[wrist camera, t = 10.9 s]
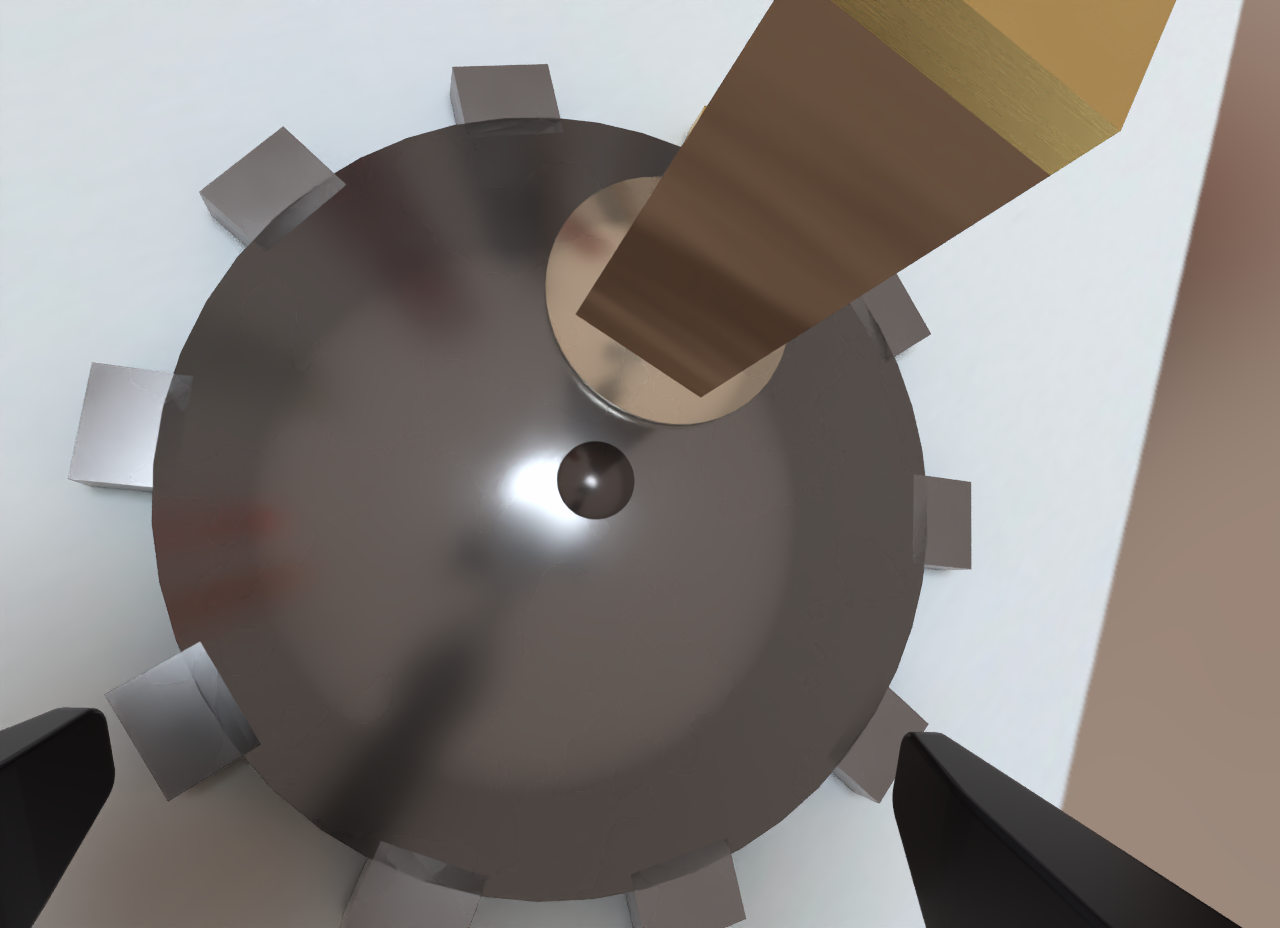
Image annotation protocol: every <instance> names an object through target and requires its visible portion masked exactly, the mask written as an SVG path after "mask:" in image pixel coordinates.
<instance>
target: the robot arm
mask: <svg viewBox="0 0 1280 928" xmlns="http://www.w3.org/2000/svg"><path fill="white" fill-rule="evenodd" d="M114 778H115V768H114V762H113V756H112V750H111V744H110V738H109V732H108V726H107V721H106V717H105V716H104V714H103V713H102V712H101V711H100V710H98V709H95V708H69V707H63V708H57V709H54V710H52V711H49V712H47V713H44V714H42V715H39V716H37V717H34V718H32V719H29V720H27V721H24V722H22V723H19V724H17V725H14V726H12V727H9V728H7V729H4V730H2V731H0V928H31V927H32V926H33V924H34V922H35V921H36V919H37V918H38V916H39V914H40V913H41V911H42V910H43V908H44V906H45V905H46V903H47V901H48V900H49V898H50V896H51V894H52V893H53V891H54V889H55V888H56V886H57V884H58V882H59V881H60V879H61V877H62V876H63V874H64V872H65V870H66V869H67V867H68V865H69V864H70V862H71V860H72V858H73V857H74V855H75V853H76V852H77V850H78V848H79V846H80V845H81V843H82V841H83V840H84V838H85V836H86V835H87V833H88V831H89V829H90V828H91V826H92V824H93V823H94V821H95V819H96V817H97V816H98V814H99V812H100V811H101V809H102V807H103V805H104V804H105V802H106V800H107V799H108V797H109V795H110V793H111V790H112V787H113V784H114ZM893 809H894V815H895V819H896V822H897V826H898V829H899V833H900V837H901V840H902V844H903V847H904V851H905V854H906V858H907V862H908V865H909V869H910V872H911V876H912V880H913V883H914V887H915V890H916V894H917V897H918V901H919V905H920V908H921V912H922V915H923V919H924V923H925V926H926V928H1242V927H1240V926H1239V925H1237V924H1236V923H1234V922H1233V921H1231V920H1230V919H1228V918H1226V917H1225V916H1223V915H1222V914H1220V913H1219V912H1217V911H1216V910H1214V909H1213V908H1211V907H1210V906H1208V905H1207V904H1205V903H1203V902H1202V901H1200V900H1199V899H1197V898H1196V897H1194V896H1193V895H1191V894H1189V893H1188V892H1186V891H1185V890H1183V889H1182V888H1180V887H1179V886H1177V885H1176V884H1174V883H1172V882H1171V881H1169V880H1168V879H1166V878H1165V877H1163V876H1162V875H1160V874H1158V873H1157V872H1155V871H1154V870H1152V869H1151V868H1149V867H1148V866H1146V865H1145V864H1143V863H1142V862H1140V861H1138V860H1137V859H1135V858H1134V857H1132V856H1131V855H1129V854H1128V853H1126V852H1125V851H1123V850H1122V849H1120V848H1118V847H1117V846H1115V845H1113V844H1112V843H1111V842H1109V841H1108V840H1106V839H1104V838H1103V837H1102V836H1100V835H1098V834H1097V833H1095V832H1094V831H1092V830H1091V829H1089V828H1088V827H1086V826H1085V825H1083V824H1081V823H1080V822H1078V821H1077V820H1075V819H1073V818H1072V817H1071V816H1069V815H1068V814H1066V813H1064V812H1063V811H1061V810H1060V809H1058V808H1057V807H1055V806H1054V805H1052V804H1051V803H1049V802H1047V801H1046V800H1044V799H1043V798H1041V797H1040V796H1038V795H1037V794H1035V793H1034V792H1032V791H1030V790H1029V789H1027V788H1026V787H1024V786H1023V785H1021V784H1020V783H1018V782H1017V781H1015V780H1014V779H1012V778H1010V777H1009V776H1007V775H1006V774H1004V773H1003V772H1001V771H1000V770H998V769H997V768H995V767H993V766H992V765H990V764H989V763H987V762H986V761H984V760H983V759H981V758H980V757H978V756H976V755H975V754H973V753H972V752H970V751H969V750H967V749H966V748H964V747H963V746H961V745H959V744H958V743H956V742H955V741H953V740H952V739H950V738H949V737H947V736H946V735H944V734H942V733H938V732H908V733H907V734H905V735H904V737H903V739H902V741H901V745H900V751H899V757H898V763H897V769H896V775H895V781H894V787H893Z"/></svg>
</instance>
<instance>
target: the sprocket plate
mask: <svg viewBox="0 0 1280 928" xmlns="http://www.w3.org/2000/svg"><path fill="white" fill-rule="evenodd" d="M450 97H451V102H452V106H453V111H454V115H455V120H456V124H457V125H453V126H449V127H446V128H442V129H438V130H435V131H431V132H427V133H424V134H420V135H417V136H413V137H409V138H406V139H404V140H401V141H399V142H397V143H394V144H392V145H390V146H387V147H385V148H383V149H380V150H378V151H376V152H373V153H371V154H368V155H366V156H364V157H361V158H359V159H358V160H356V161H354V162H353V163H351V164H349V165H348V166H346V167H344V168H343V169H341V170H339V171H338V172H336V173H333V172H332V171H331V170H330V169H329V168H328V167H326V166H325V165H324V164H323V163H322V162H321V161H320V160H319V159H318V158H317V157H316V156H315V155H314V154H312V153H311V152H310V151H309V150H308V149H307V148H306V147H305V146H304V145H303V144H302V143H301V142H299V141H298V140H297V139H296V138H295V137H294V136H293V135H292V134H291V133H290V132H289V131H288V130H287V129H285V128H284V127H282V128H281V129H279V130H278V131H277V132H275V133H274V134H273V135H272V136H270V137H269V138H268V139H266V140H265V141H264V142H263V143H261V144H260V145H259V146H257V147H256V148H255V149H254V150H252V151H251V152H250V153H248V154H247V155H246V156H245V157H243V158H242V159H241V160H240V161H238V162H237V163H236V164H234V165H233V166H232V167H231V168H229V169H228V170H227V171H225V172H224V173H223V174H222V175H220V176H219V177H218V178H216V179H215V180H214V181H213V182H211V183H210V184H209V185H207V186H206V187H205V188H204V189H202V190H201V191H200V192H199V193H200V195H201V197H202V198H203V200H204V202H205V204H206V206H207V208H208V210H209V212H210V214H211V215H212V216H213V217H214V218H215V219H216V220H217V221H218V222H219V223H220V224H222V225H223V226H224V227H225V228H226V229H227V230H228V231H229V232H230V233H232V234H233V235H234V236H235V237H236V238H237V239H238V240H239V241H241V242H242V243H243V244H244V245H245V246H246V248H245V250H244V251H243V252H242V253H241V254H240V255H239V256H238V257H237V259H236V260H235V261H234V263H233V264H232V266H231V267H230V269H229V270H228V271H227V273H226V274H225V276H224V277H223V279H222V280H221V281H220V283H219V284H218V286H217V287H216V289H215V290H214V291H213V293H212V294H211V296H210V297H209V298H208V300H207V301H206V303H205V305H204V307H203V309H202V311H201V313H200V315H199V317H198V319H197V321H196V323H195V325H194V327H193V329H192V331H191V333H190V335H189V337H188V339H187V341H186V343H185V345H184V347H183V349H182V351H181V353H180V356H179V359H178V362H177V365H176V369H175V372H174V373H166V372H159V371H152V370H144V369H137V368H130V367H122V366H115V365H108V364H100V363H93V362H92V365H91V370H90V375H89V380H88V384H87V389H86V394H85V399H84V404H83V409H82V413H81V418H80V423H79V428H78V433H77V438H76V442H75V447H74V452H73V457H72V462H71V467H70V471H69V476H68V479H70V480H73V481H76V482H79V483H82V484H85V485H88V486H97V487H107V488H117V489H127V490H137V491H147V492H152V529H153V536H154V544H155V552H156V559H157V567H158V575H159V583H160V586H161V590H162V593H163V597H164V600H165V604H166V607H167V611H168V614H169V618H170V621H171V624H172V628H173V631H174V635H175V638H176V641H177V644H178V646H179V648H180V650H181V653H179V654H177V655H175V656H173V657H172V658H170V659H168V660H166V661H164V662H163V663H161V664H159V665H157V666H155V667H153V668H152V669H150V670H148V671H146V672H144V673H143V674H141V675H139V676H137V677H135V678H134V679H132V680H130V681H128V682H126V683H125V684H123V685H121V686H119V687H117V688H116V689H114V690H112V691H110V692H108V693H107V694H105V696H106V698H107V700H108V701H109V703H110V705H111V706H112V708H113V710H114V711H115V713H116V715H117V716H118V718H119V720H120V721H121V723H122V725H123V726H124V728H125V730H126V732H127V733H128V735H129V737H130V738H131V740H132V742H133V743H134V745H135V747H136V748H137V750H138V752H139V753H140V755H141V757H142V758H143V760H144V762H145V763H146V765H147V767H148V768H149V770H150V772H151V773H152V775H153V777H154V778H155V780H156V782H157V784H158V785H159V787H160V789H161V790H162V792H163V794H164V795H165V797H166V799H167V800H168V801H170V800H171V799H173V798H175V797H176V796H178V795H180V794H181V793H183V792H184V791H186V790H188V789H189V788H191V787H193V786H194V785H196V784H197V783H199V782H201V781H202V780H204V779H206V778H207V777H209V776H211V775H212V774H214V773H215V772H217V771H219V770H220V769H222V768H224V767H225V766H227V765H229V764H230V763H232V762H233V761H235V760H237V759H238V758H240V757H242V756H244V757H245V759H246V760H247V761H248V762H249V763H250V764H251V765H252V766H253V768H254V769H255V770H256V771H257V772H258V773H259V774H260V775H261V776H262V778H263V779H264V780H265V781H266V782H267V783H268V784H269V785H270V786H271V788H272V789H273V790H274V791H275V792H276V793H277V794H279V795H280V796H281V797H282V798H283V799H285V800H286V801H287V802H288V803H290V804H291V805H292V806H293V807H294V808H296V809H297V810H298V811H299V812H300V813H302V814H303V815H304V816H305V817H307V818H308V819H309V820H310V821H311V822H313V823H314V824H315V825H316V826H317V827H319V828H320V829H321V830H323V831H324V832H326V833H328V834H329V835H331V836H333V837H334V838H336V839H338V840H339V841H341V842H343V843H344V844H346V845H348V846H349V847H351V848H353V849H354V850H356V851H358V852H359V853H361V854H363V855H364V856H366V857H368V859H367V861H366V863H365V866H364V868H363V870H362V873H361V875H360V877H359V879H358V882H357V884H356V886H355V888H354V891H353V893H352V895H351V897H350V900H349V902H348V904H347V906H346V909H345V911H344V913H343V918H342V924H341V928H469V926H470V923H471V921H472V918H473V916H474V913H475V911H476V908H477V906H478V903H479V901H480V898H481V896H485V897H495V898H505V899H515V900H525V901H535V902H541V901H563V900H585V899H595V898H601V897H606V896H611V895H616V894H622V893H625V894H626V898H627V903H628V907H629V912H630V916H631V921H632V925H633V928H725V927H728V926H730V925H732V924H735V923H737V922H740V921H742V920H744V919H746V917H745V912H744V908H743V904H742V899H741V895H740V891H739V886H738V882H737V878H736V874H735V869H734V865H733V861H732V856H731V854H732V853H734V852H736V851H738V850H740V849H741V848H743V847H744V846H746V845H747V844H749V843H750V842H751V841H753V840H754V839H756V838H757V837H759V836H760V835H762V834H763V833H765V832H766V831H768V830H769V829H770V828H772V827H773V826H775V825H776V824H778V823H779V822H781V821H782V820H783V819H784V818H785V817H786V816H788V815H789V814H790V813H791V812H792V811H793V810H794V809H795V808H797V807H798V806H799V805H800V804H801V803H802V802H803V801H804V800H805V799H807V798H808V797H809V796H810V795H811V794H812V793H813V792H814V791H815V790H817V789H818V788H819V787H820V785H821V784H822V783H823V782H824V781H825V780H826V778H827V777H828V776H829V775H830V774H831V773H834V774H835V775H836V776H837V777H838V778H839V779H840V780H841V781H842V782H844V783H845V784H846V785H847V786H848V787H849V788H850V789H851V790H853V791H854V792H855V793H857V794H859V795H861V796H863V797H866V798H868V799H870V800H872V801H875V802H877V803H880V802H881V800H882V798H883V797H884V795H885V794H886V792H887V790H888V789H889V787H890V785H891V784H892V782H893V781H894V779H895V775H896V769H897V763H898V757H899V751H900V745H901V741H902V739H903V737H904V735H905V734H907V733H908V732H924V730H925V729H926V727H927V725H928V723H927V722H926V721H925V720H924V719H923V718H922V717H920V716H919V715H918V714H917V713H916V712H915V711H914V710H913V709H912V708H911V707H910V706H909V705H907V704H906V703H905V702H904V701H903V700H902V699H901V698H900V697H899V696H898V695H897V694H896V693H895V692H893V691H892V690H891V689H890V688H889V685H890V683H891V681H892V679H893V677H894V675H895V673H896V671H897V668H898V665H899V663H900V660H901V657H902V654H903V651H904V649H905V646H906V643H907V640H908V637H909V635H910V632H911V629H912V626H913V621H914V617H915V613H916V608H917V604H918V600H919V595H920V591H921V587H922V582H923V573H924V568H928V569H938V570H964V569H971V482H967V481H960V480H952V479H945V478H938V477H930V476H925V470H924V461H923V453H922V447H921V442H920V438H919V434H918V429H917V425H916V421H915V416H914V412H913V407H912V404H911V401H910V399H909V396H908V393H907V390H906V387H905V384H904V381H903V378H902V376H901V373H900V370H899V367H898V364H897V362H896V360H895V358H894V357H895V356H896V355H898V354H900V353H901V352H903V351H904V350H906V349H908V348H909V347H911V346H913V345H914V344H916V343H918V342H919V341H921V340H922V339H924V338H926V337H927V336H929V335H931V333H930V331H929V330H928V328H927V326H926V324H925V323H924V321H923V319H922V317H921V316H920V314H919V312H918V310H917V309H916V307H915V305H914V303H913V302H912V300H911V298H910V296H909V295H908V293H907V291H906V289H905V288H904V286H903V284H902V282H901V281H900V279H899V277H898V275H897V274H895V275H893V276H892V277H890V278H888V279H887V280H885V281H884V282H882V283H880V284H879V285H877V286H876V287H874V288H873V289H871V290H869V291H868V292H866V293H865V294H863V295H862V296H860V297H858V298H857V299H855V300H854V301H852V302H851V303H849V304H847V305H846V306H844V307H843V308H841V309H840V310H838V311H836V312H835V313H833V314H832V315H830V316H829V317H827V318H825V319H824V320H822V321H821V322H819V323H818V324H816V325H814V326H813V327H811V328H810V329H808V330H807V331H805V332H803V333H802V334H800V335H799V336H797V337H796V338H794V339H792V340H791V341H789V342H788V343H786V344H785V345H783V346H781V347H780V348H778V349H777V350H775V351H773V352H772V353H770V354H769V355H767V356H766V357H764V358H762V359H761V360H759V361H758V362H756V363H755V364H753V365H751V366H750V367H748V368H747V369H745V370H744V371H742V372H740V373H739V374H737V375H736V376H734V377H733V378H731V379H729V380H728V381H726V382H725V383H723V384H722V385H720V386H718V387H717V388H715V389H714V390H712V391H711V392H709V393H707V394H706V395H704V396H703V397H701V398H700V397H699V396H697V395H696V394H694V393H693V392H691V391H690V390H688V389H687V388H685V387H684V386H682V385H681V384H679V383H678V382H676V381H675V380H673V379H672V378H670V377H669V376H667V375H666V374H664V373H663V372H661V371H660V370H658V369H657V368H655V367H654V366H652V365H651V364H649V363H648V362H646V361H645V360H643V359H642V358H640V357H639V356H637V355H636V354H634V353H633V352H631V351H630V350H628V349H627V348H625V347H624V346H622V345H621V344H619V343H618V342H616V341H615V340H613V339H612V338H610V337H609V336H607V335H606V334H604V333H603V332H601V331H600V330H598V329H597V328H595V327H593V326H592V325H590V324H589V323H587V322H586V321H584V320H583V319H581V318H580V317H578V316H577V315H575V314H576V312H577V311H578V309H579V308H580V306H581V305H582V303H583V301H584V300H585V298H586V297H587V295H588V293H589V292H590V290H591V289H592V287H593V286H594V284H595V282H596V281H597V279H598V278H599V276H600V275H601V273H602V271H603V270H604V268H605V267H606V265H607V263H608V262H609V260H610V259H611V257H612V256H613V254H614V252H615V251H616V249H617V248H618V246H619V244H620V243H621V241H622V240H623V238H624V237H625V235H626V233H627V232H628V230H629V229H630V227H631V226H632V224H633V222H634V221H635V219H636V218H637V216H638V214H639V213H640V211H641V210H642V208H643V207H644V205H645V203H646V202H647V200H648V199H649V197H650V196H651V194H652V192H653V191H654V189H655V188H656V186H657V184H658V183H659V181H660V180H661V178H662V177H663V175H664V173H665V172H666V170H667V169H668V167H669V166H670V164H671V162H672V161H673V159H674V158H675V156H676V154H677V153H678V151H679V150H680V148H681V147H679V146H677V145H674V144H671V143H668V142H666V141H663V140H660V139H657V138H655V137H652V136H649V135H646V134H643V133H640V132H635V131H631V130H627V129H623V128H618V127H614V126H610V125H605V124H601V123H596V122H587V121H578V120H569V119H560V115H559V111H558V106H557V102H556V98H555V93H554V89H553V85H552V80H551V76H550V72H549V68H548V64H538V65H504V66H470V67H452V77H451V88H450ZM705 109H706V106H704V108H703V109H702V111H701V113H700V114H699V116H698V117H697V119H696V121H695V122H694V124H693V125H692V127H691V129H690V131H689V133H688V135H689V134H690V132H691V131H692V129H693V128H694V126H695V124H696V123H697V121H698V120H699V118H700V117H701V115H702V113H703V112H704V110H705ZM688 135H687V137H688ZM686 139H687V138H686Z"/></svg>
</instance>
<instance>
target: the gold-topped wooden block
mask: <svg viewBox="0 0 1280 928" xmlns="http://www.w3.org/2000/svg"><path fill="white" fill-rule="evenodd" d="M1175 2H1176V0H774V1H773V3H772V4H771V6H770V8H769V9H768V11H767V12H766V14H765V15H764V17H763V19H762V20H761V22H760V23H759V25H758V26H757V28H756V30H755V31H754V33H753V34H752V36H751V38H750V39H749V41H748V42H747V44H746V45H745V47H744V49H743V50H742V52H741V53H740V55H739V56H738V58H737V60H736V61H735V63H734V64H733V66H732V68H731V69H730V71H729V72H728V74H727V75H726V77H725V79H724V80H723V82H722V83H721V85H720V87H719V88H718V90H717V91H716V93H715V94H714V96H713V98H712V99H711V101H710V102H709V104H708V105H707V107H706V109H705V110H704V112H703V113H702V115H701V117H700V118H699V120H698V121H697V123H696V124H695V126H694V128H693V129H692V131H691V132H690V134H689V135H688V137H687V139H686V140H685V142H684V143H683V145H682V147H681V148H680V150H679V151H678V153H677V154H676V156H675V158H674V159H673V161H672V162H671V164H670V166H669V167H668V169H667V170H666V172H665V173H664V175H663V177H662V178H661V180H660V181H659V183H658V184H657V186H656V188H655V189H654V191H653V192H652V194H651V196H650V197H649V199H648V200H647V202H646V203H645V205H644V207H643V208H642V210H641V211H640V213H639V214H638V216H637V218H636V219H635V221H634V222H633V224H632V226H631V227H630V229H629V230H628V232H627V233H626V235H625V237H624V238H623V240H622V241H621V243H620V244H619V246H618V248H617V249H616V251H615V252H614V254H613V256H612V257H611V259H610V260H609V262H608V263H607V265H606V267H605V268H604V270H603V271H602V273H601V275H600V276H599V278H598V279H597V281H596V282H595V284H594V286H593V287H592V289H591V290H590V292H589V293H588V295H587V297H586V298H585V300H584V301H583V303H582V305H581V306H580V308H579V309H578V311H577V312H576V314H575V315H577V316H578V317H580V318H581V319H583V320H584V321H586V322H587V323H589V324H590V325H592V326H593V327H595V328H597V329H598V330H600V331H601V332H603V333H604V334H606V335H607V336H609V337H610V338H612V339H613V340H615V341H616V342H618V343H619V344H621V345H622V346H624V347H625V348H627V349H628V350H630V351H631V352H633V353H634V354H636V355H637V356H639V357H640V358H642V359H643V360H645V361H646V362H648V363H649V364H651V365H652V366H654V367H655V368H657V369H658V370H660V371H661V372H663V373H664V374H666V375H667V376H669V377H670V378H672V379H673V380H675V381H676V382H678V383H679V384H681V385H682V386H684V387H685V388H687V389H688V390H690V391H691V392H693V393H694V394H696V395H697V396H699V397H700V398H701V397H703V396H704V395H706V394H707V393H709V392H711V391H712V390H714V389H715V388H717V387H718V386H720V385H722V384H723V383H725V382H726V381H728V380H729V379H731V378H733V377H734V376H736V375H737V374H739V373H740V372H742V371H744V370H745V369H747V368H748V367H750V366H751V365H753V364H755V363H756V362H758V361H759V360H761V359H762V358H764V357H766V356H767V355H769V354H770V353H772V352H773V351H775V350H777V349H778V348H780V347H781V346H783V345H785V344H786V343H788V342H789V341H791V340H792V339H794V338H796V337H797V336H799V335H800V334H802V333H803V332H805V331H807V330H808V329H810V328H811V327H813V326H814V325H816V324H818V323H819V322H821V321H822V320H824V319H825V318H827V317H829V316H830V315H832V314H833V313H835V312H836V311H838V310H840V309H841V308H843V307H844V306H846V305H847V304H849V303H851V302H852V301H854V300H855V299H857V298H858V297H860V296H862V295H863V294H865V293H866V292H868V291H869V290H871V289H873V288H874V287H876V286H877V285H879V284H880V283H882V282H884V281H885V280H887V279H888V278H890V277H892V276H893V275H895V274H896V273H898V272H899V271H901V270H903V269H904V268H906V267H907V266H909V265H910V264H912V263H914V262H915V261H917V260H918V259H920V258H921V257H923V256H925V255H926V254H928V253H929V252H931V251H932V250H934V249H936V248H937V247H939V246H940V245H942V244H943V243H945V242H947V241H948V240H950V239H951V238H953V237H954V236H956V235H958V234H959V233H961V232H962V231H964V230H965V229H967V228H969V227H970V226H972V225H973V224H975V223H976V222H978V221H980V220H981V219H983V218H984V217H986V216H987V215H989V214H991V213H992V212H994V211H995V210H997V209H999V208H1000V207H1002V206H1003V205H1005V204H1006V203H1008V202H1010V201H1011V200H1013V199H1014V198H1016V197H1017V196H1019V195H1021V194H1022V193H1024V192H1025V191H1027V190H1028V189H1030V188H1032V187H1033V186H1035V185H1036V184H1038V183H1039V182H1041V181H1043V180H1044V179H1046V178H1047V177H1049V176H1050V175H1052V174H1054V173H1055V172H1057V171H1058V170H1060V169H1061V168H1063V167H1065V166H1066V165H1068V164H1069V163H1071V162H1072V161H1074V160H1076V159H1077V158H1079V157H1080V156H1082V155H1083V154H1085V153H1087V152H1088V151H1090V150H1091V149H1093V148H1094V147H1096V146H1098V145H1099V144H1101V143H1102V142H1104V141H1105V140H1107V139H1109V138H1110V137H1112V136H1113V135H1115V134H1117V133H1118V132H1120V131H1121V129H1122V127H1123V124H1124V122H1125V119H1126V117H1127V115H1128V112H1129V110H1130V108H1131V105H1132V103H1133V101H1134V98H1135V96H1136V94H1137V91H1138V89H1139V87H1140V84H1141V82H1142V79H1143V77H1144V75H1145V72H1146V70H1147V68H1148V65H1149V63H1150V61H1151V58H1152V56H1153V54H1154V51H1155V49H1156V47H1157V44H1158V42H1159V39H1160V37H1161V35H1162V32H1163V30H1164V28H1165V25H1166V23H1167V21H1168V18H1169V16H1170V14H1171V11H1172V9H1173V7H1174V4H1175Z"/></svg>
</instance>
